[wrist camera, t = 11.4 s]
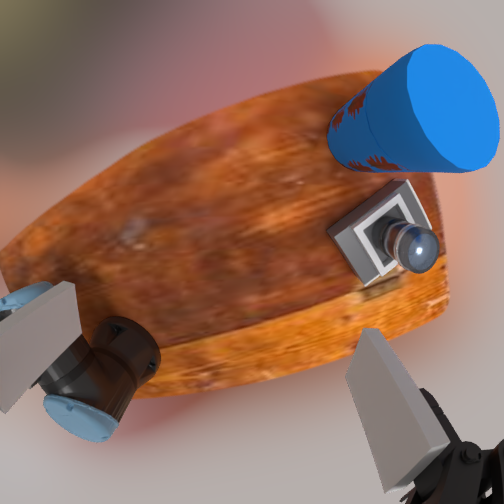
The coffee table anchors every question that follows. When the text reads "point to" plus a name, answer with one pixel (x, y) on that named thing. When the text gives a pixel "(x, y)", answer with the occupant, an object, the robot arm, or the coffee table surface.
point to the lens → (406, 243)
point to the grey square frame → (363, 220)
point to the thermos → (419, 118)
